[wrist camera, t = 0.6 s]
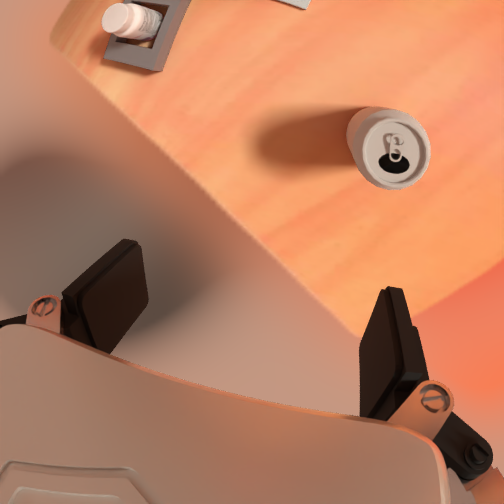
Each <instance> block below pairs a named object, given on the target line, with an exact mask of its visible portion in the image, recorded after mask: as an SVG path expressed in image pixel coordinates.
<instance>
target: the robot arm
mask: <svg viewBox="0 0 504 504" xmlns="http://www.w3.org/2000/svg"><path fill="white" fill-rule="evenodd" d="M62 295H63V299H62V300H61V301H60V299H59V298H58V297H57V296H54V295H45V296H41V297H39V298H37V299H36V300H34V301H33V302H32V303H31V305H30V306H29V308H28V313H27V314H26V315H22V316H18V317H14V318H10V319H6V320H2V321H0V504H504V478H503V476H502V474H501V473H500V471H499V470H498V468H497V467H496V468H494V469H493V467H492V466H491V464H492V461H493V452H492V449H491V446H490V445H489V443H488V442H487V441H486V440H485V439H484V438H482V437H481V436H480V435H479V434H478V433H477V432H476V431H474V430H473V429H472V428H471V427H470V426H469V425H467V424H466V423H465V422H464V421H463V420H461V419H460V418H459V417H458V416H457V415H456V414H454V413H453V412H452V410H453V407H454V398H453V395H452V393H451V391H450V390H449V389H448V388H447V387H446V386H445V385H444V384H442V383H440V382H438V381H434V380H429V376H428V372H427V367H426V362H425V358H424V353H423V349H422V345H421V341H420V337H419V333H418V330H417V327H415V326H412V322H411V318H410V314H409V310H408V307H407V303H406V300H405V296H404V293H403V290H402V289H401V288H396V287H390V286H387V287H386V289H385V290H384V289H382V290H381V291H380V293H379V296H378V299H377V301H376V304H375V307H374V310H373V312H372V315H371V317H370V320H369V323H368V325H367V328H366V330H365V333H364V335H363V337H362V340H361V343H360V347H359V363H360V417H359V416H353V415H346V414H338V413H331V412H325V411H319V410H312V409H307V408H301V407H295V406H290V405H284V404H279V403H274V402H268V401H264V400H260V399H255V398H251V397H246V396H242V395H238V394H234V393H230V392H226V391H222V390H218V389H214V388H210V387H207V386H203V385H199V384H196V383H192V382H189V381H186V380H183V379H179V378H176V377H173V376H170V375H166V374H163V373H160V372H157V371H154V370H151V369H148V368H146V367H142V366H140V365H137V364H134V363H131V362H129V361H126V360H123V359H120V358H118V357H115V356H113V355H110V353H111V352H112V351H113V349H114V348H115V347H116V345H117V344H118V343H119V341H120V340H121V339H122V337H123V336H124V335H125V333H126V332H127V331H128V330H129V328H130V327H131V326H132V324H133V323H134V322H135V320H136V319H137V318H138V316H139V315H140V314H141V313H142V311H143V310H144V309H145V308H146V306H147V304H148V292H147V285H146V279H145V272H144V265H143V257H142V249H141V246H140V245H138V242H137V241H134V240H129V239H123V240H121V241H120V242H119V243H118V244H116V245H115V246H114V247H113V248H112V249H110V250H109V251H108V252H107V253H105V254H104V255H103V256H102V257H101V258H100V259H98V260H97V261H96V262H95V263H94V264H93V265H92V266H90V267H89V268H88V269H87V270H86V271H85V272H84V273H82V274H81V275H80V276H79V277H78V278H77V279H76V280H75V281H74V282H72V283H71V284H70V285H69V286H68V287H67V288H66V289H65V290H64V291H63V292H62Z"/></svg>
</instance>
